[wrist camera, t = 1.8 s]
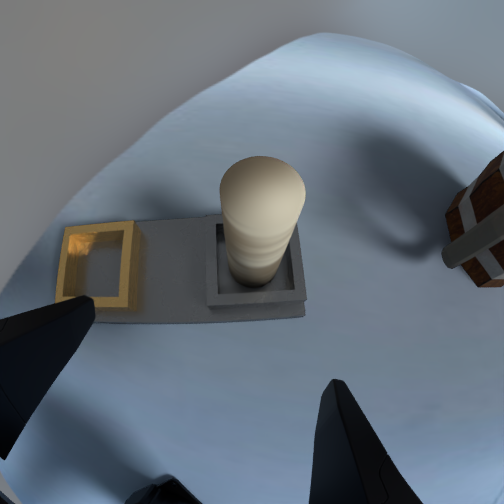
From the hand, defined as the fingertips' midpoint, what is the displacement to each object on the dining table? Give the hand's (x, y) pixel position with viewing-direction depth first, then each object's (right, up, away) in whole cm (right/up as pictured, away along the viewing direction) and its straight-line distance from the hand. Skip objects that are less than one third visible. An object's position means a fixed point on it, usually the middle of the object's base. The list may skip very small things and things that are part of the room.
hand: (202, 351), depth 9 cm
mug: (+28, +4, +17) cm, 33 cm away
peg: (+2, +2, +14) cm, 15 cm away
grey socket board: (-5, +2, +15) cm, 16 cm away
